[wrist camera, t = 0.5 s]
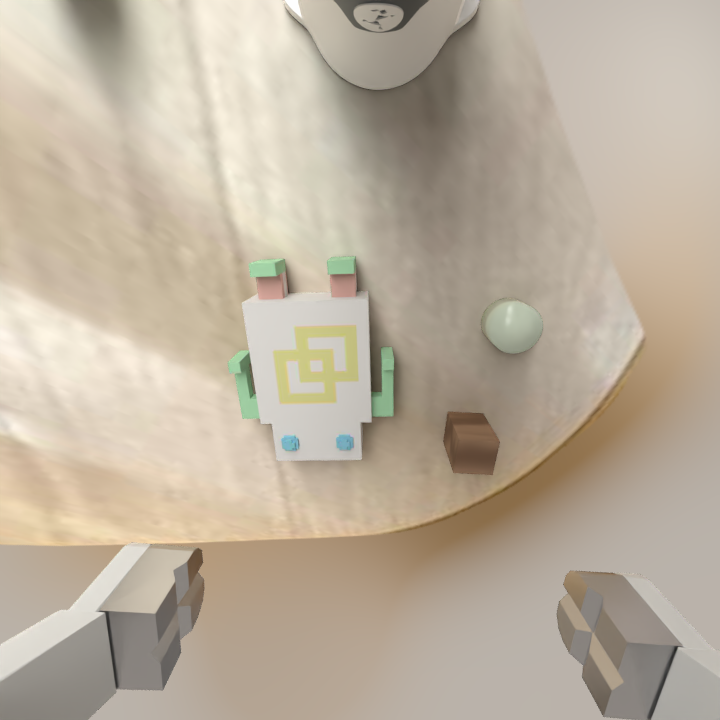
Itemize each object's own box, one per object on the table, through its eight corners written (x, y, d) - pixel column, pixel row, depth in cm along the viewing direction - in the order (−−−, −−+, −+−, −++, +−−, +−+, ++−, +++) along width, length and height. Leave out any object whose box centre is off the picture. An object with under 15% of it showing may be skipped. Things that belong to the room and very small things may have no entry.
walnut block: (447, 411, 50) (459, 439, 44) (483, 413, 50) (499, 441, 44) (443, 441, 52) (453, 472, 46) (477, 443, 52) (492, 474, 45)
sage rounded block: (485, 296, 44) (495, 303, 41) (533, 299, 44) (548, 305, 41) (477, 342, 47) (486, 352, 43) (523, 344, 46) (536, 355, 43)
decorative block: (394, 462, 46) (243, 464, 47) (391, 435, 52) (258, 437, 53) (394, 259, 37) (207, 265, 38) (391, 254, 43) (229, 260, 44)
